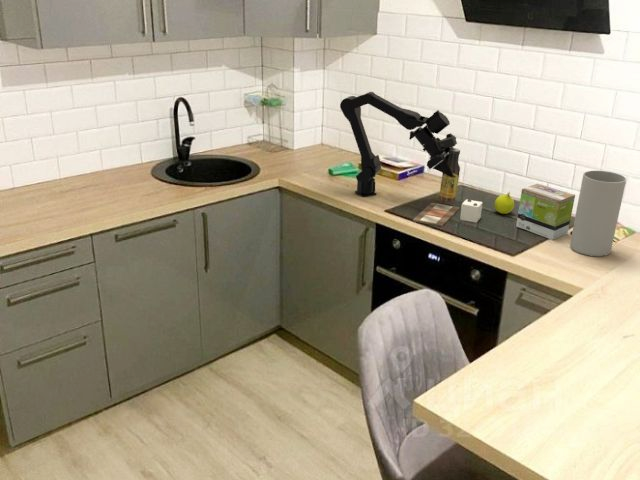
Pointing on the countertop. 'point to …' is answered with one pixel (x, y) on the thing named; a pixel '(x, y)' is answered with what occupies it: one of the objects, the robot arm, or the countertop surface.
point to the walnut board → (436, 214)
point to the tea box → (545, 211)
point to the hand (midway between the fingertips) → (454, 173)
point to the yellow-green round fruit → (504, 204)
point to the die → (471, 210)
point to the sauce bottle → (450, 183)
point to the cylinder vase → (597, 212)
